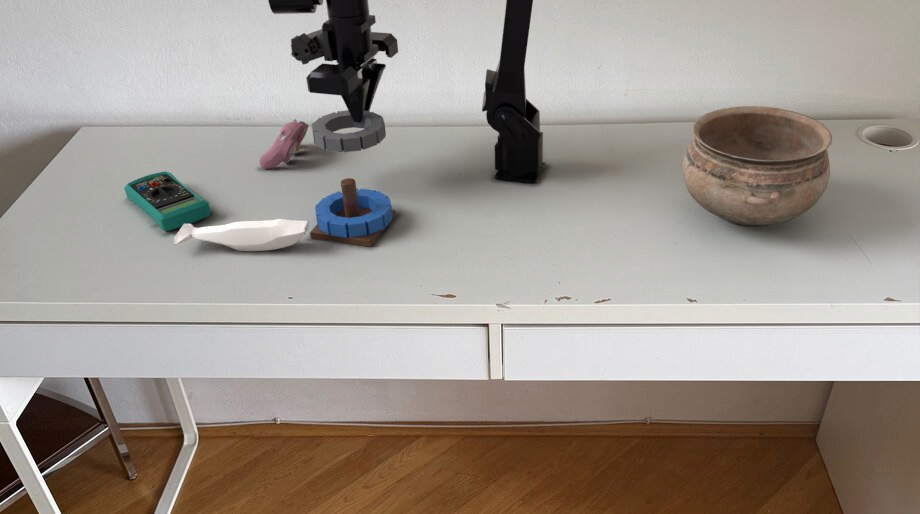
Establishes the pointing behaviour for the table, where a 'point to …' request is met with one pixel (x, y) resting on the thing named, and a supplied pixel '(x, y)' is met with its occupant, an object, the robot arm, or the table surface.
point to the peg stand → (349, 211)
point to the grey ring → (348, 141)
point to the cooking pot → (757, 164)
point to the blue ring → (355, 224)
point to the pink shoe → (284, 144)
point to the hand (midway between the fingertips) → (360, 118)
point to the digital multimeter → (167, 200)
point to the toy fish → (248, 234)
